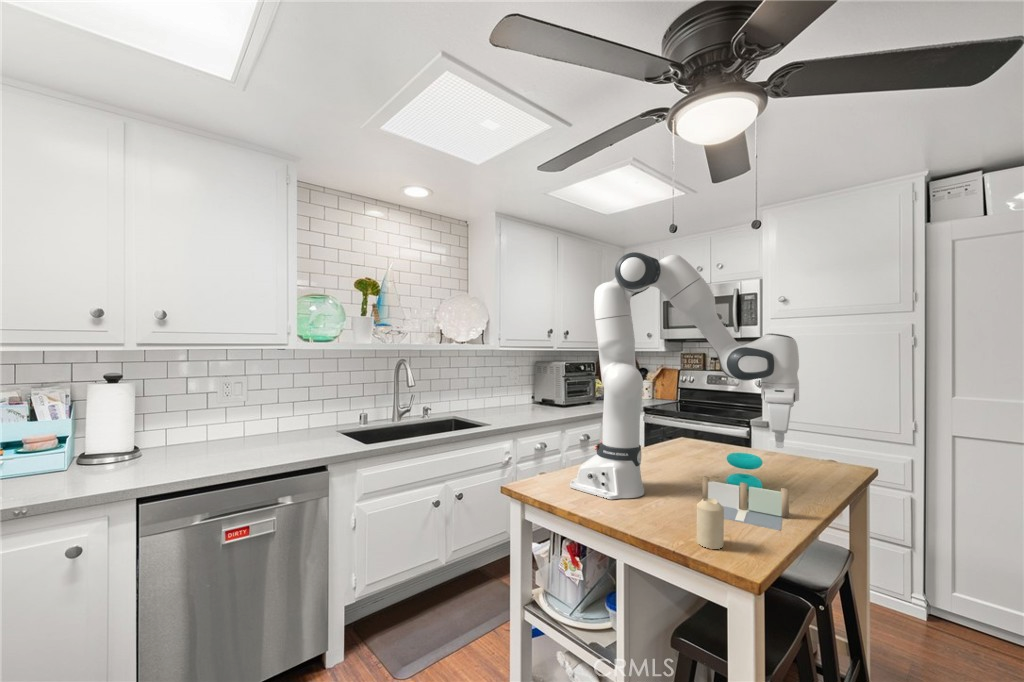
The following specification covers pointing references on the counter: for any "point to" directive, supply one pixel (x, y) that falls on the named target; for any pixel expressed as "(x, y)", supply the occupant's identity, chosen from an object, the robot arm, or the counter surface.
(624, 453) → the robot arm
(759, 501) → the fence panel
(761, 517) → the board
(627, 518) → the counter surface
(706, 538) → the candle
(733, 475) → the donuts
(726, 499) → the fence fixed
